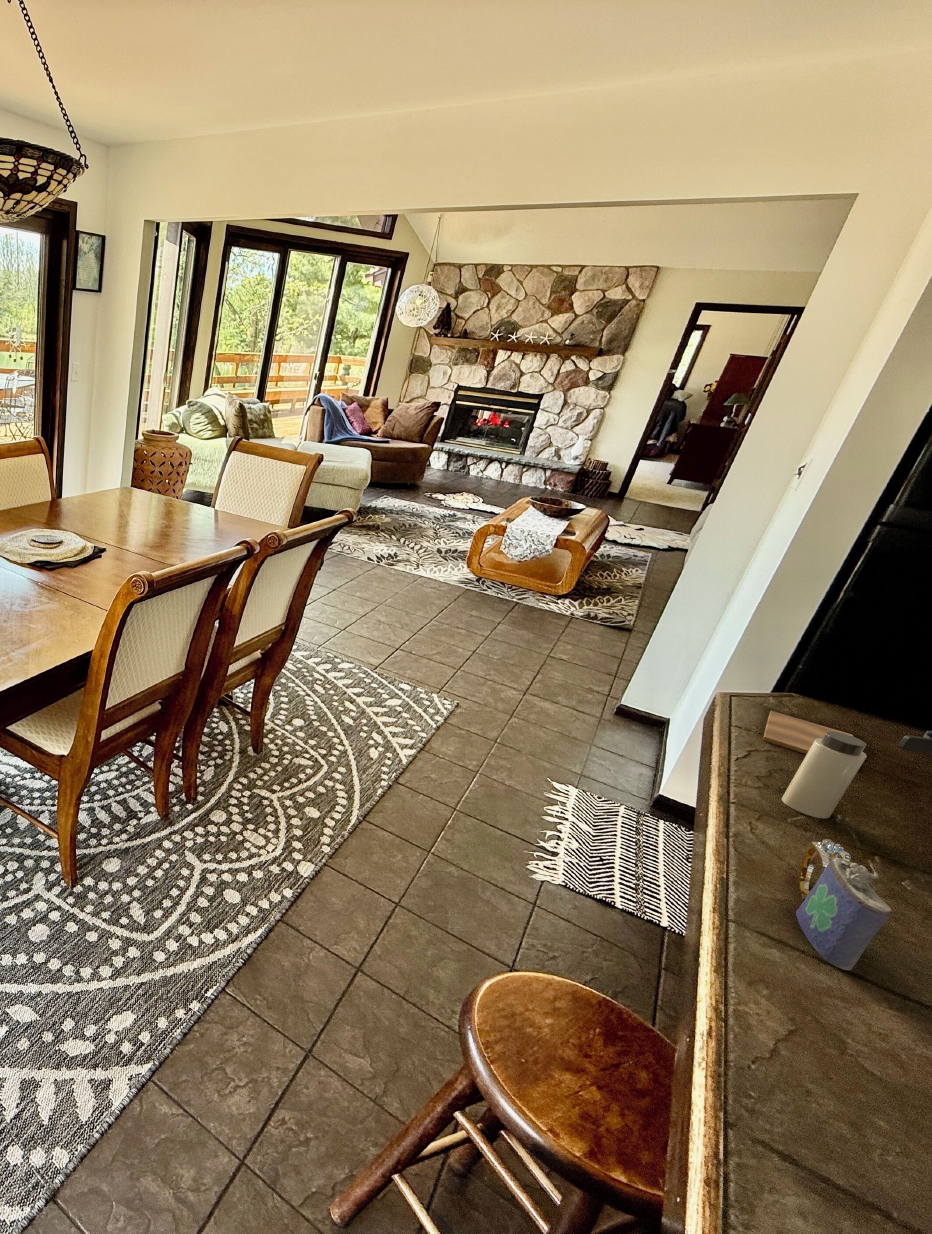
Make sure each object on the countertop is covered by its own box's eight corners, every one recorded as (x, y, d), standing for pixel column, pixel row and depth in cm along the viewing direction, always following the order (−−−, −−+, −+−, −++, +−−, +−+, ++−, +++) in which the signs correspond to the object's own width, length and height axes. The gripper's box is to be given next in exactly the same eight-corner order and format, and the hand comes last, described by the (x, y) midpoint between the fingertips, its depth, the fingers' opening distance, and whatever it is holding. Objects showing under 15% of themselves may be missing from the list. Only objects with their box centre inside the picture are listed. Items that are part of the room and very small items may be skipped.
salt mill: (819, 803, 99) (860, 735, 94) (837, 822, 94) (881, 752, 90) (775, 792, 101) (812, 725, 96) (790, 811, 96) (831, 741, 92)
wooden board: (851, 768, 109) (854, 764, 109) (762, 740, 116) (764, 736, 116) (851, 738, 119) (853, 734, 119) (769, 713, 126) (770, 710, 126)
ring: (781, 875, 83) (811, 824, 80) (816, 889, 81) (849, 837, 78) (785, 905, 78) (818, 851, 75) (823, 920, 76) (858, 866, 73)
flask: (853, 980, 68) (908, 901, 64) (815, 967, 69) (867, 889, 65) (816, 921, 76) (864, 848, 72) (783, 910, 77) (827, 838, 73)
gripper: (1029, 727, 94) (898, 710, 97) (1157, 784, 81) (1002, 764, 84) (998, 770, 97) (872, 753, 100) (1116, 832, 84) (968, 811, 87)
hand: (931, 758), depth 92 cm, fingers open, 8 cm apart
